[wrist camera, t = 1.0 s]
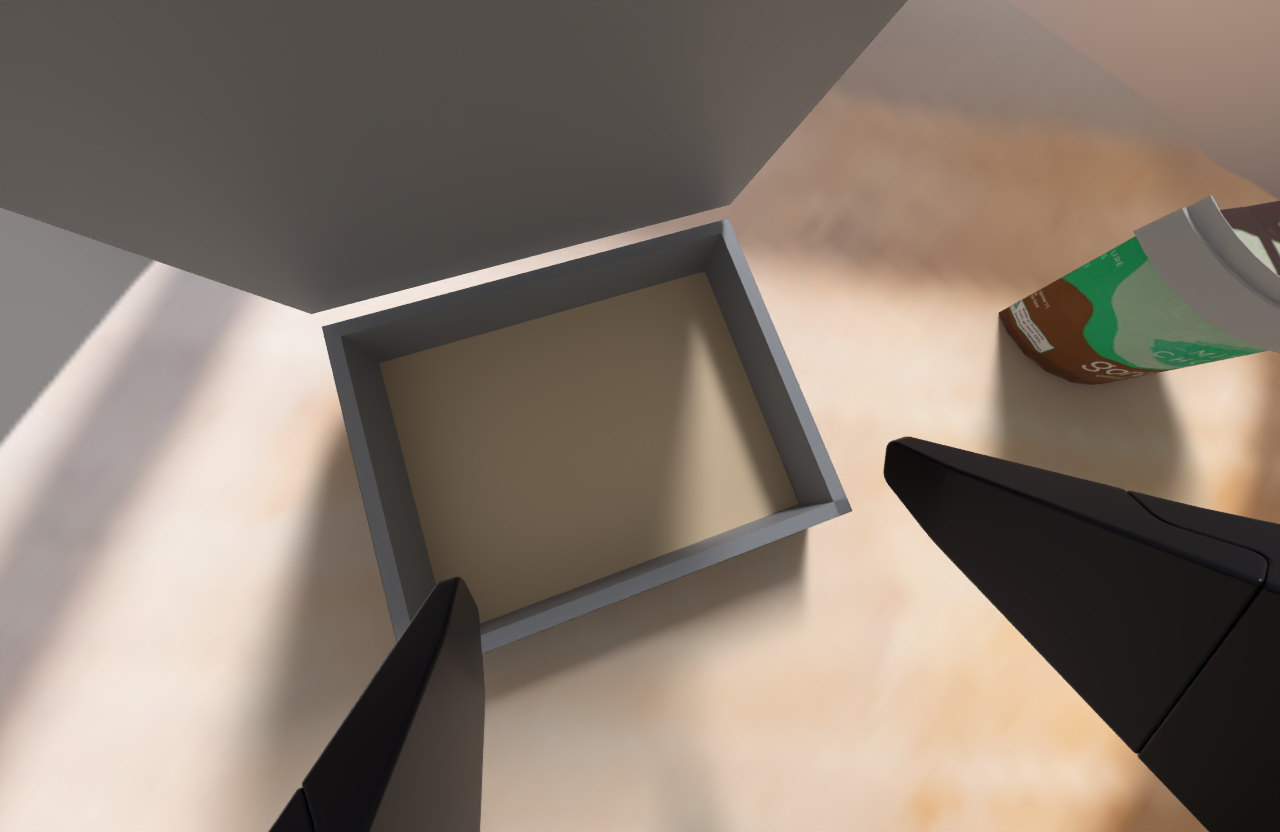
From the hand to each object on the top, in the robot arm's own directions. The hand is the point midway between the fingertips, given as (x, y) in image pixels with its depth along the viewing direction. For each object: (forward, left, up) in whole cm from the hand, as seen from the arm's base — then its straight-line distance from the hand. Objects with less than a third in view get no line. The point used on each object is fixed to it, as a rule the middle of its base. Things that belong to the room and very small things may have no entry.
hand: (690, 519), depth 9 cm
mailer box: (+3, +3, -13) cm, 14 cm away
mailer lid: (+8, +6, -2) cm, 10 cm away
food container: (+14, -24, -13) cm, 30 cm away
